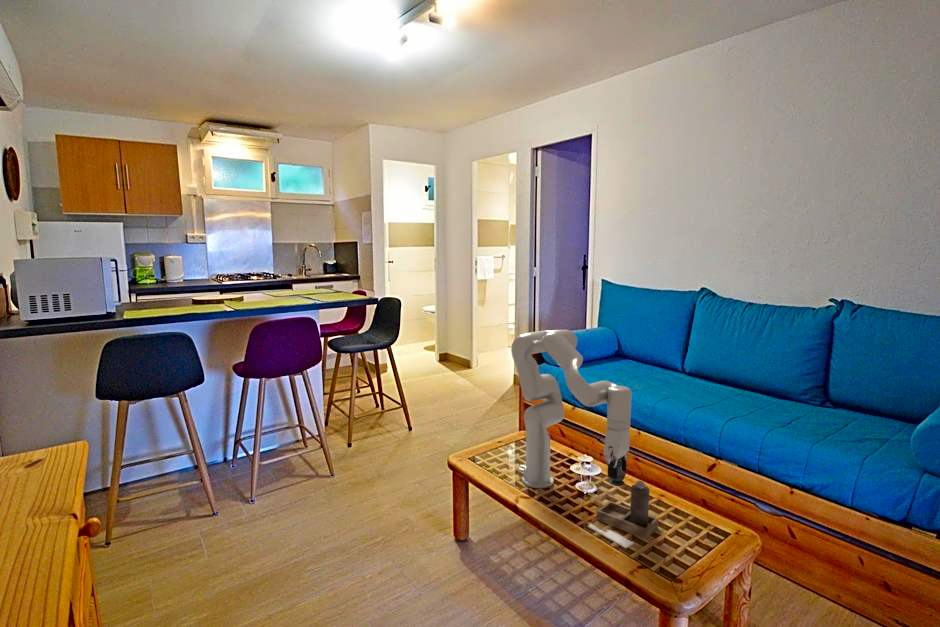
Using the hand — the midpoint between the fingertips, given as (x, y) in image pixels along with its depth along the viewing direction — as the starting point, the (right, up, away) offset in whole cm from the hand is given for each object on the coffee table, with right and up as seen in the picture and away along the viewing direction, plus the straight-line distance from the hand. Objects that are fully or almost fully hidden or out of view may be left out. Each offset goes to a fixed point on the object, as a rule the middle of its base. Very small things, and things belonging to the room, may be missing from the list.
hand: (616, 474), depth 166 cm
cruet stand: (+3, -16, -1) cm, 17 cm away
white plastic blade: (-4, -18, -7) cm, 20 cm away
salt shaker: (0, -3, 0) cm, 3 cm away
